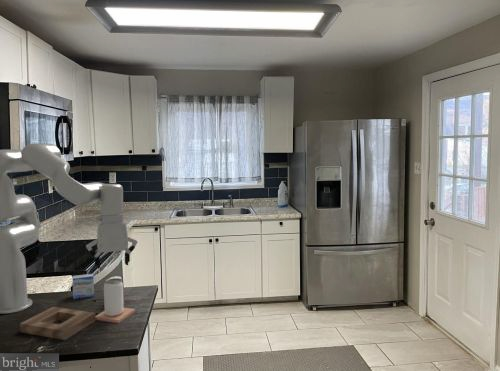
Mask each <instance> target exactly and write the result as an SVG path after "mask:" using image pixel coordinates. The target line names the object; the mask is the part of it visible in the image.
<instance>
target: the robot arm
mask: <svg viewBox="0 0 500 371" xmlns="http://www.w3.org/2000/svg"><path fill="white" fill-rule="evenodd" d="M70 170H71V166H70V163H69V162H68V161H67V160H65V159H64V158H62V153H61V150H60V149H59V148H58V146H56V145H54V144H52V143H45V142H44V143H41V142H38V143H37V142H35V143H34V142H33V143H29V144H27V145H25V146H24V147H23V148H22V149H11V148H9V149H0V223H9V222H13V221H15V223H12V224H8V225H4V226H1V227H0V314H13V313H19V312H21V311H24V310H26V309H28V308H30V307H31V306H32V305H33V300H32V298H28V286H27V283H28V282H27V268H26V258H25V256H24V254H23V252H22V251H21V248H23V247H24V248H25V247H27V246H30V245H32V244H35V243H36V242H37V241H38V240H39V238H40V227H39V219H38V215H37V208H36V205H35V202H34V201H33V199H32V198H31V197H30V196H28V195H26V194H16V192H15V185H14V183H13V181H12V179H11V178H10V176H8V173H21V172H22V173H23V172H30V171H36V172H38V173H40V174H41V175H42V176H44V177H46V178H47V179H48V180H50V181H51V183H52V185H53V187H54V189H55V191H56V193H57V194H59V195H60V196H61V197H62V198H64V199H65V200H67V201H69V202H70V203H72V204H73V205H76V206H81V207H85V206H89V205H90V206H91V205H95V204H98V203H99V204H100V215H98V216H96V218H95V219H96V221H99V222H98V226H97V235H96V239H94V240H92V241H91V242H89V243H88V244H85V247H86V249H87V250H88V252H89V253H90V255H92V256H93V257H94V266H95V267H97V268H96V269H99V270H100V268H101V258H100V255H101V254H102V253H109V252H110V253H111V252H120V251H125V252H124V264H125V265H126V266H129V263H130V262H131V261H130V260H131V258H130V256H131V253H132V252H133V251H134V250H135V248H136V246H137V244H138V241H137V240H136V239H135V238H131V237H130V236H128V228H127V222H126V221H124V188H123V185H121V184H119V183H104V182H99V181H98V182H95V181H94V182H87V183H81V182H79V181H78V180H75V179H74V178H73V177H71V176H70V175H69V173H70ZM129 243H132V244H131V245H130V246H129ZM93 246H96V248H97V249H96V250H93V248H92V247H93Z"/></svg>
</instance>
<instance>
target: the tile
mask: <svg viewBox="0 0 500 371" xmlns="http://www.w3.org/2000/svg"><path fill="white" fill-rule="evenodd" d="M134 313H136V309H135V308H129V307H124V311H123V313H122V314H120V315H118V316H107V315H106V314H105V310H103V311H102V312H99V314H97V315H95V321H101V322H108V323H114V324H120V323H121V322H123V321H124V320H126V319H127V318H129V317H131V315H133V314H134Z"/></svg>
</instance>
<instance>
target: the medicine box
mask: <svg viewBox="0 0 500 371" xmlns="http://www.w3.org/2000/svg"><path fill="white" fill-rule="evenodd" d="M94 277H95V276H94V273H87V274H79V275H72V296H73V298H72V299H73V300H79V298H80V299H86V297H87V298H92V296H93V297H95V284H94V281H95V279H94Z"/></svg>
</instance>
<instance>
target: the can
mask: <svg viewBox="0 0 500 371" xmlns="http://www.w3.org/2000/svg"><path fill="white" fill-rule="evenodd" d="M122 283H123V282H122V281H121V279H119V278H113V279H109V278H108V279H106V280H105V281H104V285H103V302H104V311H105V314H106V315H107V316H118V315H120V314H122V313H123V311H124V308H125V307H124V302H123V293H124V284H122Z"/></svg>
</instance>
